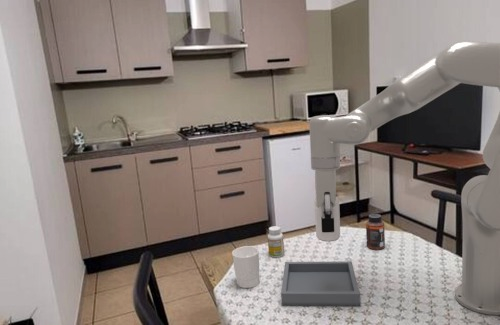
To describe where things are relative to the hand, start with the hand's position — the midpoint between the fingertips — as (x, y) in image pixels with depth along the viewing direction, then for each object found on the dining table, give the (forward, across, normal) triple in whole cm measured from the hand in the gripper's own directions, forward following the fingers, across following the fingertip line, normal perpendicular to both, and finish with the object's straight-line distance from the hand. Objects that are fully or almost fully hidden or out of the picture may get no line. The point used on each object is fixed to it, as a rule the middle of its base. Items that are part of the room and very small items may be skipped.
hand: (327, 226), depth 99 cm
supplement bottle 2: (+18, -27, +17) cm, 37 cm away
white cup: (+19, -3, -24) cm, 30 cm away
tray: (+18, 0, -3) cm, 18 cm away
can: (+3, 0, 0) cm, 3 cm away
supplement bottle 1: (+19, -22, -17) cm, 33 cm away
